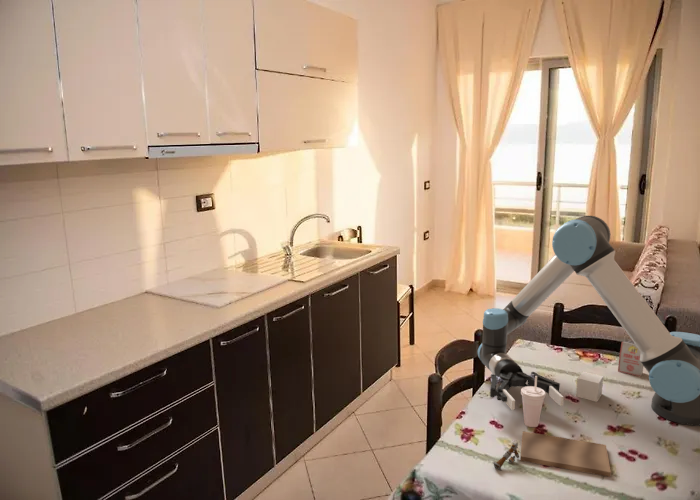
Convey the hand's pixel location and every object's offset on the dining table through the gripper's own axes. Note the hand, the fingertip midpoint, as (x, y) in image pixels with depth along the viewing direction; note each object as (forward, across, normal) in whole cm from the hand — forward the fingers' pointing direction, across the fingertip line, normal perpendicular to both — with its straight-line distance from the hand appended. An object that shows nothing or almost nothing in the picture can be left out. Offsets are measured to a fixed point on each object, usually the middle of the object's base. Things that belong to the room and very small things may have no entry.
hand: (537, 403), depth 145 cm
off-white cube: (-16, -25, -8) cm, 31 cm away
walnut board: (+12, -1, -8) cm, 14 cm away
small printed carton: (-30, -47, -8) cm, 56 cm away
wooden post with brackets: (+14, +14, -8) cm, 21 cm away
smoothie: (-3, 0, -8) cm, 8 cm away
